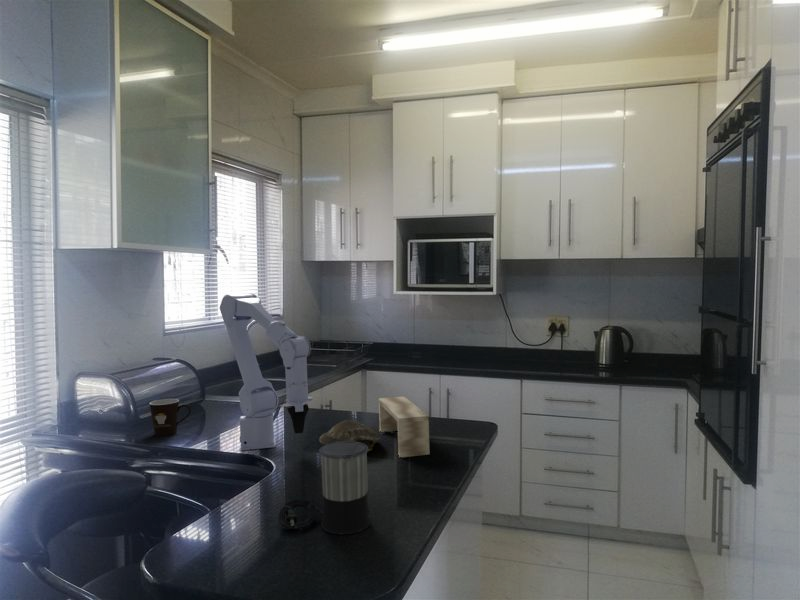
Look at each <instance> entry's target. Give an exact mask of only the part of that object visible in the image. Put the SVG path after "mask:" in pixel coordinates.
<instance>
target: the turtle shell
mask: <svg viewBox="0 0 800 600" xmlns="http://www.w3.org/2000/svg"><path fill="white" fill-rule="evenodd" d="M318 439H319V440H318V441H319V442H320V444H322V446H325V445H327V444H330V443H335V442H343V441H354V442H360V443H363V444H365V445H367V447H368V450H367V453H368V452H371V451H372V450H374V449H373V447H374V445H375V444H376V443H378V441H380V440H381V436H379V434H378V433H377V432H376V431H375V430H374V429H372V428H371V427H370V426H367V425H365V424H363V423H361V422H358V421H355V420H351V419H345V420H342V421H340V422H338V423H336V424H335V425H333V426H332V427H331V428H330V429H329V430H328V431H327V432H324V433H322V434H321V436H319V438H318Z"/></svg>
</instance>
